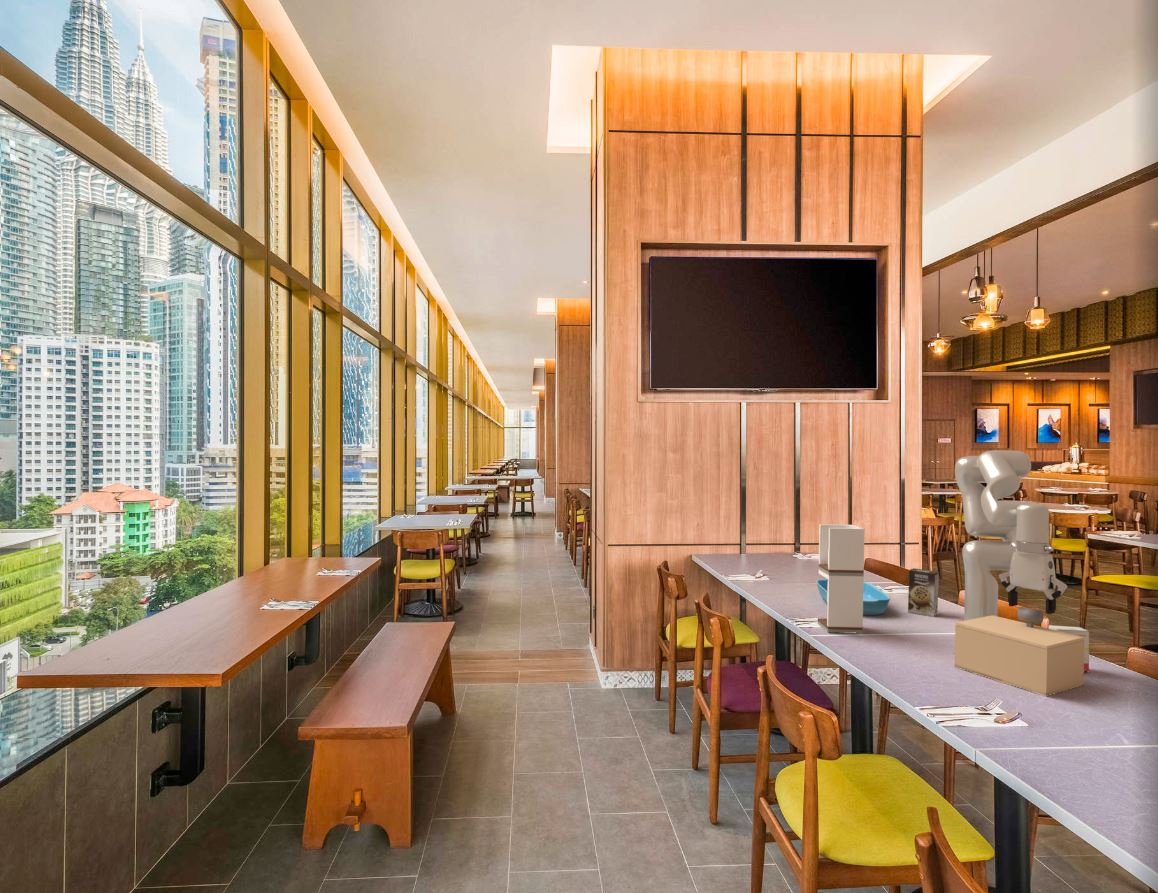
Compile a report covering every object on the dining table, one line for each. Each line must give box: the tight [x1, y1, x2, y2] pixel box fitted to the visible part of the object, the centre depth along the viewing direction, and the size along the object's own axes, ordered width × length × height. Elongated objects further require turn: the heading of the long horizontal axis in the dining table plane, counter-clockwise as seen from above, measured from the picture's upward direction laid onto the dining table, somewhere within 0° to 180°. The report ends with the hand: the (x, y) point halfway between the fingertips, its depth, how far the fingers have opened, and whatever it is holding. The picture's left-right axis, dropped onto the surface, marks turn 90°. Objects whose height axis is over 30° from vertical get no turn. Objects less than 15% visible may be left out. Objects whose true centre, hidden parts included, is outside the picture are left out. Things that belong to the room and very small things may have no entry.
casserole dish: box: [815, 578, 891, 616], centre depth 262 cm, size 37×22×7 cm, turn 174°
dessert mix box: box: [907, 567, 940, 617], centre depth 251 cm, size 9×6×16 cm
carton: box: [954, 625, 1085, 697], centre depth 184 cm, size 18×24×12 cm
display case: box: [817, 523, 866, 634], centre depth 228 cm, size 11×11×35 cm
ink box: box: [1048, 624, 1090, 673], centre depth 191 cm, size 9×5×12 cm, turn 80°
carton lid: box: [955, 606, 1085, 649], centre depth 184 cm, size 18×24×6 cm
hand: (1031, 609), depth 186 cm, fingers open, 9 cm apart
